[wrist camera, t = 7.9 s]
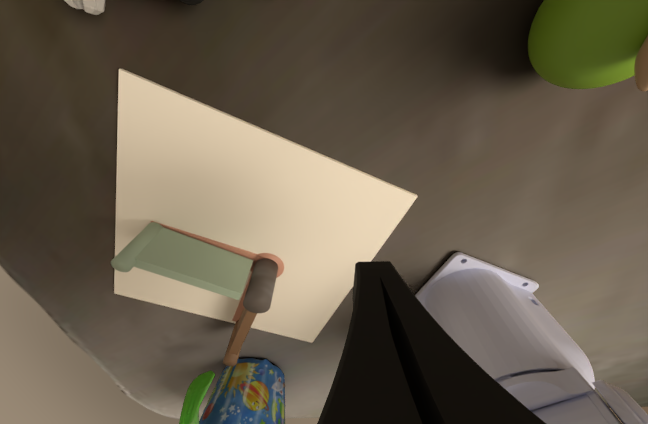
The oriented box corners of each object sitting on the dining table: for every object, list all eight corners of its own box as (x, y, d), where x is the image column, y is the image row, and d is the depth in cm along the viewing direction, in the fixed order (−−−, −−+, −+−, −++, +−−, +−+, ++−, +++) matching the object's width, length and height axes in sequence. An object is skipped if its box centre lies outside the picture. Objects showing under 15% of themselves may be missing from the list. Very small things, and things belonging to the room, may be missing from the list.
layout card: (416, 194, 19) (418, 197, 19) (312, 340, 28) (312, 343, 28) (122, 68, 14) (117, 69, 14) (116, 290, 24) (113, 294, 24)
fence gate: (149, 219, 19) (111, 255, 16) (254, 258, 21) (241, 297, 18) (146, 231, 20) (110, 268, 16) (249, 268, 22) (235, 307, 18)
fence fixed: (281, 261, 22) (274, 300, 18) (249, 328, 27) (239, 368, 23) (258, 254, 21) (247, 292, 18) (230, 323, 26) (217, 363, 23)
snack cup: (180, 345, 29) (119, 470, 20) (265, 326, 27) (238, 453, 18) (246, 404, 37) (223, 512, 28) (315, 392, 35) (313, 504, 26)
